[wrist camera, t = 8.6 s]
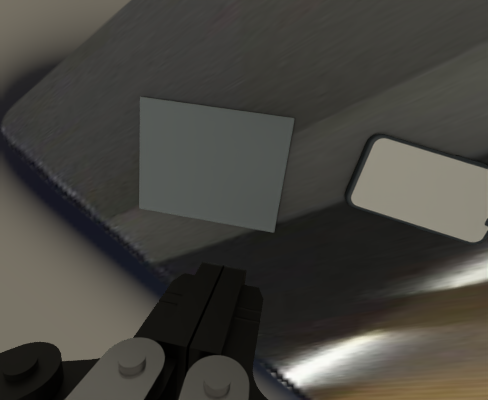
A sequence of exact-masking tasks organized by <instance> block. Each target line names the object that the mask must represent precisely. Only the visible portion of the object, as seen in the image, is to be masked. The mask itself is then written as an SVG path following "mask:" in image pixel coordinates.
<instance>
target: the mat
mask: <svg viewBox="0 0 488 400" xmlns="http://www.w3.org/2000/svg"><path fill="white" fill-rule="evenodd" d="M294 119H295V118H291V117H284V116H276V115H269V114H262V113H255V112H248V111H241V110H233V109H226V108H219V107H212V106H205V105H197V104H190V103H183V102H176V101H169V100H162V99H154V98H147V97H140V183H139V208H140V209H146V210H151V211H157V212H162V213H168V214H173V215H179V216H184V217H190V218H196V219H201V220H207V221H212V222H218V223H223V224H229V225H234V226H240V227H245V228H251V229H256V230H262V231H267V232H273V233H274V230H275V225H276V219H277V214H278V208H279V203H280V197H281V191H282V186H283V180H284V175H285V169H286V164H287V158H288V152H289V147H290V141H291V136H292V130H293V125H294Z"/></svg>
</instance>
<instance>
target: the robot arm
mask: <svg viewBox="0 0 488 400" xmlns="http://www.w3.org/2000/svg"><path fill="white" fill-rule="evenodd" d="M245 278H246V270H245V269H240V268H234V267H229V266H225V267H224V266H223V265H218V264H213V263H208V262H202V264H201V265H200V267H199V269H198V270H197V272H196V274H195V275H191V274H186V273H184V274H183V275H181V276H180V277H178V278H177V279H175V280H173V281H172V283H171V284H170V286H169V287H168V289H167V290H166V292H165V293H164V294H163V296H162V297H161V299H160V300H159V303H157V304H156V306H155V307H154V309H153V310H152V312H151V313H150V314H149V316H148V317H147V319H146V320H145V322H144V323H143V325H142V326H141V327H140V329H139V330H138V332H137V333H136V335H135V336H134V337H133V338H130V339H127V340H124V341H121V342H119V343H117V344H116V345H114V346H113V347H111V348H110V349H109V350H108V351H107V352H106V353H105V354H104V355H103V356H102V357H101V358H98V359H92V360H77V361H62V358H61V353H60V351H59V349H58V348H57V347H56V346H55V345H53V344H50V343H46V342H34V343H28V344H24V345H21V346H18V347H15V348H13V349H10V350H7V351H5V352H2V353H0V400H268V399H267V398H266V397H265V396H264V395H263V394H262V393H261V392H260V390H259V389H258V387H257V386H256V383H255V381H254V377H253V361H254V355H255V349H256V342H257V336H258V330H259V323H260V317H261V311H262V304H263V297H262V295H261V292H260V290H259V288H257V287H252V286H247V285H245Z"/></svg>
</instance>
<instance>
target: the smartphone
mask: <svg viewBox="0 0 488 400" xmlns="http://www.w3.org/2000/svg"><path fill="white" fill-rule="evenodd" d="M345 199H346V201H347V203H348V204H349V205H350V206H351V207H354V208H357V209H360V210H363V211H366V212H369V213H372V214H375V215H378V216H382V217H385V218H388V219H391V220H394V221H397V222H400V223H403V224H407V225H410V226H413V227H415V228H417V229H420V230H423V231H426V232H430V233H435V234H438V235H441V236H444V237H447V238H450V239H453V240H457V241H460V242H463V243H466V244H469V245H477V244H480V243H482V242H483V241H484V240H485V239H486V238H487V236H488V166H487V165H485V164H484V163H481V162H478V161H474V160H470V159H468V158H464V157H461V156H458V155H456V156H454V155H451V154H448V153H444V152H441V151H438V150H435V149H431V148H428V147H425V146H421V145H418V144H415V143H412V142H408V141H405V140H402V139H398V138H395V137H392V136H389V135H385V134H375V135H373V136H371V137H370V138H369V139H368V141H367V143H366V145H365V148H364V150H363V152H362V155H361V157H360V159H359V162H358V164H357V167H356V169H355V171H354V174H353V176H352V178H351V181H350V183H349V186H348V188H347V190H346V193H345Z"/></svg>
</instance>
